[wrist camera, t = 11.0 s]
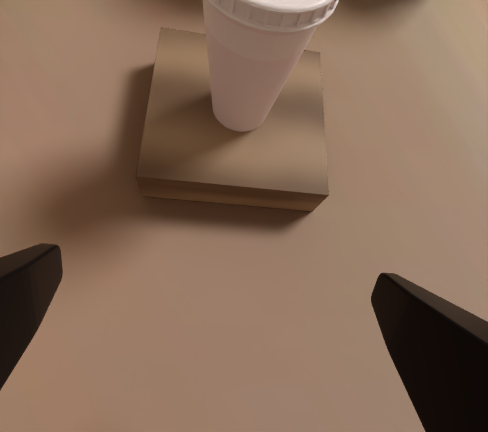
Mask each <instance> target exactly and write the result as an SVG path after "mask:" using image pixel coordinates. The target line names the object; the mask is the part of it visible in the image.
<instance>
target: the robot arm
mask: <svg viewBox="0 0 488 432" xmlns="http://www.w3.org/2000/svg"><path fill="white" fill-rule="evenodd" d="M62 274H63V270H62V259H61V250H60V247H59V246H58V245H55V244H44V243H43V244H38V245H35V246H33V247H30V248H27V249H24V250H21V251H18V252H15V253H12V254H10V255H7V256H4V257H1V258H0V390H1V388H2V387H3V385H4V384H5V382H6V380H7V379H8V377H9V375H10V374H11V372H12V371H13V369H14V367H15V366H16V364H17V363H18V361H19V359H20V358H21V356H22V355H23V353H24V351H25V350H26V348H27V346H28V345H29V343H30V342H31V340H32V338H33V337H34V335H35V333H36V332H37V330H38V328H39V326H40V324H41V322H42V320H43V318H44V316H45V313H46V311H47V309H48V307H49V305H50V303H51V301H52V299H53V296H54V294H55V292H56V290H57V288H58V286H59V284H60V282H61V279H62ZM371 303H372V306H373V309H374V312H375V315H376V318H377V321H378V324H379V326H380V329H381V332H382V335H383V338H384V341H385V344H386V346H387V349H388V351H389V354H390V356H391V358H392V360H393V362H394V365H395V367H396V369H397V371H398V373H399V375H400V378H401V380H402V382H403V384H404V386H405V388H406V391H407V393H408V395H409V397H410V399H411V401H412V403H413V406H414V408H415V410H416V412H417V414H418V416H419V419H420V421H421V423H422V425H423V427H424V429H425V432H488V322H487V321H485V320H483V319H481V318H479V317H477V316H476V315H474V314H472V313H470V312H468V311H466V310H464V309H462V308H460V307H458V306H456V305H454V304H452V303H451V302H449V301H447V300H445V299H443V298H441V297H439V296H437V295H435V294H433V293H431V292H429V291H428V290H426V289H424V288H422V287H420V286H418V285H416V284H414V283H412V282H410V281H408V280H406V279H404V278H403V277H401V276H399V275H397V274H394V273H381V274H380V275H379V276H378V279H377V281H376V284H375V287H374V290H373V292H372V296H371Z"/></svg>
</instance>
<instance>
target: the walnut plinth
mask: <svg viewBox="0 0 488 432" xmlns="http://www.w3.org/2000/svg"><path fill="white" fill-rule="evenodd" d="M136 178H137V181H138V184H139V187H140V190H141V192H142V195H143V196H147V197H158V198H169V199H180V200H192V201H203V202H214V203H225V204H236V205H247V206H258V207H269V208H280V209H291V210H302V211H313V210H314V209H315V208H316V207H317V206H318V205H319V204H320V203H321V202H322V201H323V200H324V199H325V198H326V197H327V196H328V195H329V189H328V173H327V157H326V141H325V125H324V108H323V92H322V76H321V60H320V52H314V51H308V50H304V51H303V53H302V54H301V56H300V58H299V60H298V61H297V63H296V65H295V67H294V68H293V70H292V72H291V74H290V76H289V77H288V79H287V81H286V83H285V84H284V86H283V88H282V90H281V91H280V93H279V95H278V97H277V98H276V100H275V102H274V104H273V106H272V107H271V109H270V111H269V113H268V114H267V116H266V118H265V120H264V121H263V123H262V124H261V125H260V126H259V127H257V128H256V129H254V130H251V131H246V132H239V131H234V130H231V129H228V128H226V127H225V126H223V125H222V124H221V123H220V122H219V121H218V120H217V119H216V117H215V115H214V113H213V107H212V96H211V85H210V74H209V64H208V53H207V42H206V34H200V33H194V32H188V31H182V30H175V29H169V28H163V27H161V29H160V35H159V41H158V47H157V53H156V59H155V65H154V71H153V77H152V83H151V89H150V95H149V100H148V106H147V112H146V118H145V124H144V130H143V136H142V142H141V148H140V154H139V160H138V166H137V172H136Z"/></svg>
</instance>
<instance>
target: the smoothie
mask: <svg viewBox="0 0 488 432" xmlns="http://www.w3.org/2000/svg"><path fill="white" fill-rule="evenodd" d="M338 2H339V0H203V12H204V20H205V31H206V42H207V53H208V64H209V74H210V85H211V96H212V107H213V113H214V115H215V117H216V119H217V120H218V121H219V122H220V123H221V124H222V125H223V126H225V127H226V128H228V129H231V130H234V131H239V132H246V131H251V130H254V129H256V128H257V127H259V126H260V125H261V124H262V123H263V121H264V120H265V118H266V116H267V114H268V113H269V111H270V109H271V107H272V106H273V104H274V102H275V100H276V98H277V97H278V95H279V93H280V91H281V90H282V88H283V86H284V84H285V83H286V81H287V79H288V77H289V76H290V74H291V72H292V70H293V68H294V67H295V65H296V63H297V61H298V60H299V58H300V56H301V54H302V53H303V51H304V49H305V47H306V46H307V44H308V43H309V41H310V39H311V37H312V35H313V33H314V32H315V30H316V28H317V26H318V25H319V24H321V23H323V22H324V21H325V20H326V19H327V18H328V17H329V16H330V15H331V14H332V13H333V12H334V10H335V8H336V6H337V4H338Z"/></svg>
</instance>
